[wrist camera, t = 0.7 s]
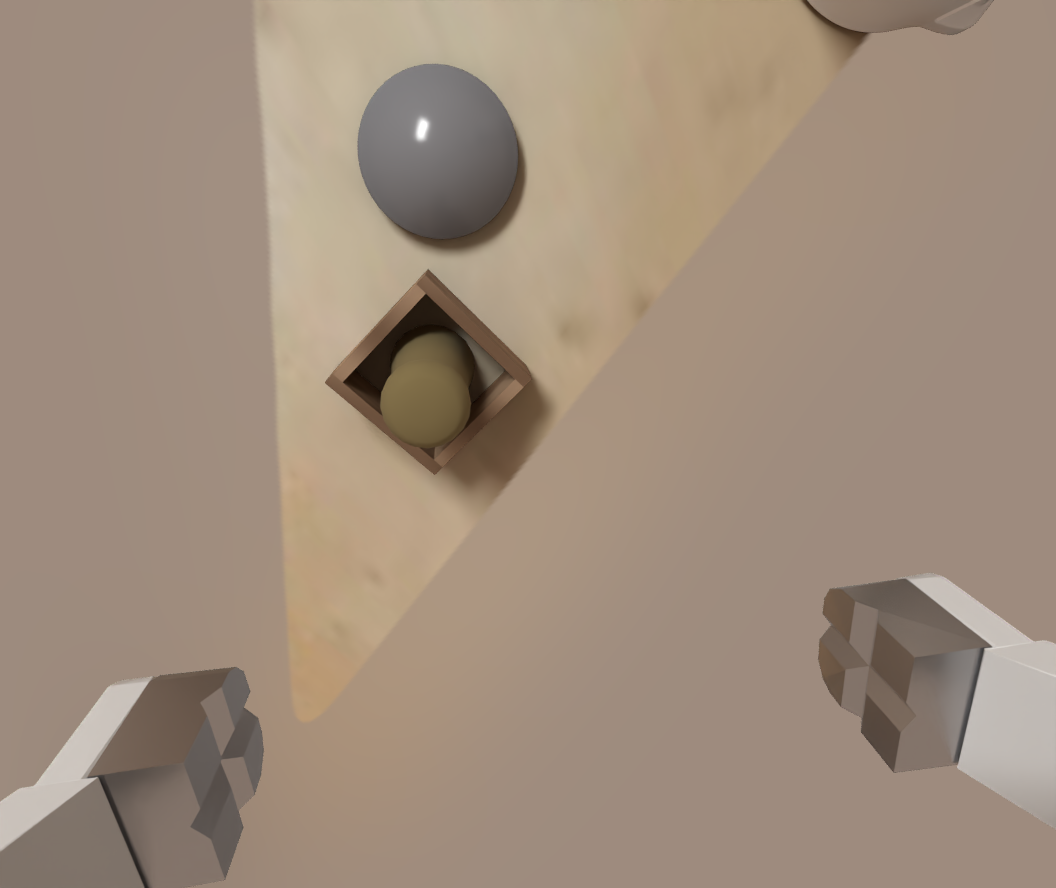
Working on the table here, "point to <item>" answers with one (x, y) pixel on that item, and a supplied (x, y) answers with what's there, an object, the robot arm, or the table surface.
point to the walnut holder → (516, 372)
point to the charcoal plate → (437, 151)
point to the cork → (428, 387)
